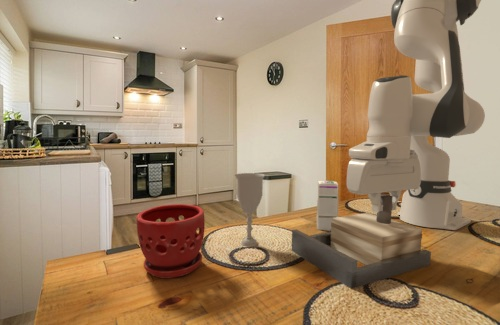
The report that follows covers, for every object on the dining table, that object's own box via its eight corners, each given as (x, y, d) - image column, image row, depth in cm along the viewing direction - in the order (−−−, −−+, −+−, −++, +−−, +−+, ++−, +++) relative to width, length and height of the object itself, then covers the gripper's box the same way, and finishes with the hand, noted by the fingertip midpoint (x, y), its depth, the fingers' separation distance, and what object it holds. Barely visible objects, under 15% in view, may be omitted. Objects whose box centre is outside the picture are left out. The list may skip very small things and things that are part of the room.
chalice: (241, 256, 64) (242, 177, 63) (229, 245, 70) (230, 174, 69) (269, 250, 68) (270, 176, 66) (255, 241, 74) (256, 172, 72)
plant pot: (152, 254, 65) (151, 203, 64) (209, 255, 64) (209, 204, 63) (125, 283, 52) (124, 219, 51) (197, 285, 51) (196, 221, 50)
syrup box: (337, 235, 79) (340, 184, 78) (316, 233, 80) (318, 183, 79) (335, 228, 84) (337, 180, 83) (315, 227, 86) (317, 180, 84)
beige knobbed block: (366, 239, 73) (369, 189, 71) (420, 261, 60) (424, 201, 59) (330, 246, 67) (332, 193, 66) (380, 272, 55) (384, 206, 54)
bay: (360, 241, 75) (362, 218, 74) (429, 270, 58) (431, 242, 58) (291, 255, 65) (292, 230, 64) (350, 295, 49) (352, 261, 48)
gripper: (405, 148, 70) (401, 203, 72) (342, 149, 61) (340, 212, 63) (430, 150, 65) (426, 209, 66) (366, 151, 56) (363, 219, 57)
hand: (384, 210), depth 64 cm, fingers closed on beige knobbed block, 3 cm apart
